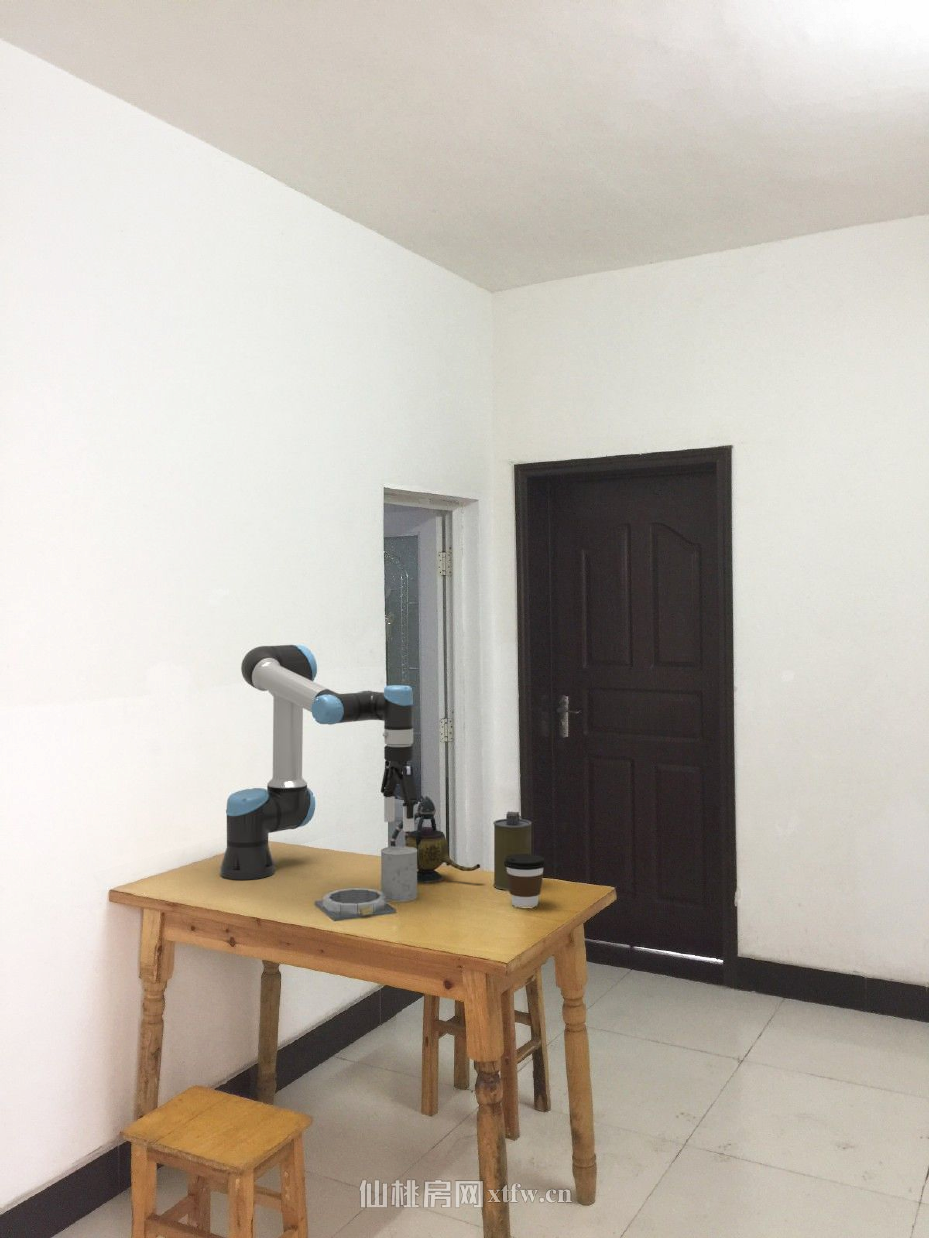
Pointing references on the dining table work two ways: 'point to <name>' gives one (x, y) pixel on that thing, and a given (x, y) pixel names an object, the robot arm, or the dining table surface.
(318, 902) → the socket
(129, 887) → the dining table surface
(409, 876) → the grey speckled cylinder
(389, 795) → the robot arm
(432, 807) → the teapot
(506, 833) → the canister
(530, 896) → the coffee cup
